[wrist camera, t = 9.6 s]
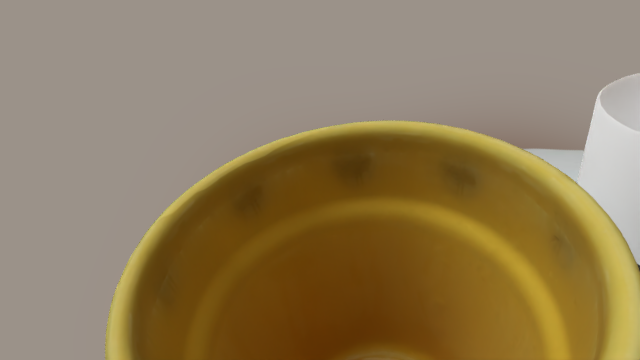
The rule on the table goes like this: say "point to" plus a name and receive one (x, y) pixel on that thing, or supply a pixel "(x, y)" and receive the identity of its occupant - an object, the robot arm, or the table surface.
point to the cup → (616, 157)
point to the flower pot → (380, 257)
